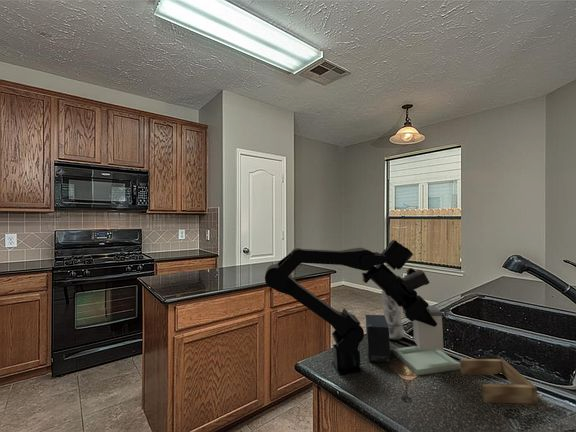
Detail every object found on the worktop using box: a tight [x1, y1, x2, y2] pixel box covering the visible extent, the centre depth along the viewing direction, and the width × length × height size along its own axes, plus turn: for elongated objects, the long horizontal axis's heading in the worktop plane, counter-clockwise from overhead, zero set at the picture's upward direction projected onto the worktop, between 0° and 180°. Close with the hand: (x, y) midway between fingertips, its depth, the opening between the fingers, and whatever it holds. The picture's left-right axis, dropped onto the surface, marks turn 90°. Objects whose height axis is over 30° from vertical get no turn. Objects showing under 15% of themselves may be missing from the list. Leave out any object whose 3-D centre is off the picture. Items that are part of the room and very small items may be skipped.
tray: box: [392, 345, 461, 376], centre depth 85 cm, size 12×12×2 cm
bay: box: [459, 358, 539, 405], centre depth 71 cm, size 10×12×4 cm
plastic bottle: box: [380, 290, 405, 341], centre depth 101 cm, size 6×7×20 cm
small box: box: [364, 314, 391, 363], centre depth 91 cm, size 11×6×10 cm, turn 169°
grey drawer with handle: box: [412, 304, 444, 351], centre depth 82 cm, size 6×6×11 cm
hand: (432, 321), depth 82 cm, fingers closed on grey drawer with handle, 6 cm apart
